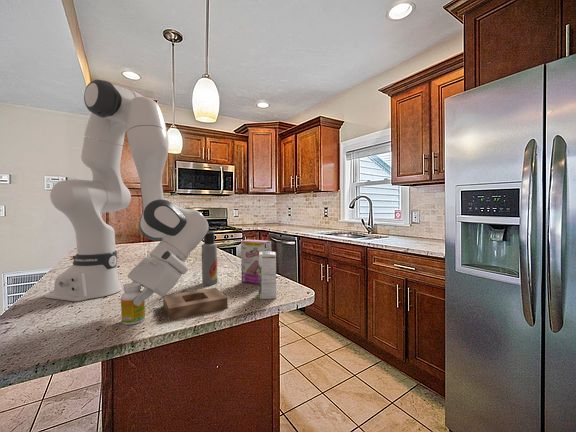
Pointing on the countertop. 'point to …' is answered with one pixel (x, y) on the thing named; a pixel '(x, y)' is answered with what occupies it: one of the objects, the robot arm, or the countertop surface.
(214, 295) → the socket block
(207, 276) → the lotion bottle
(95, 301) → the countertop surface
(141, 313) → the supplement bottle
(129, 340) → the countertop surface
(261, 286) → the syrup box
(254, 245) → the candy bar box
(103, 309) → the countertop surface
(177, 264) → the robot arm
